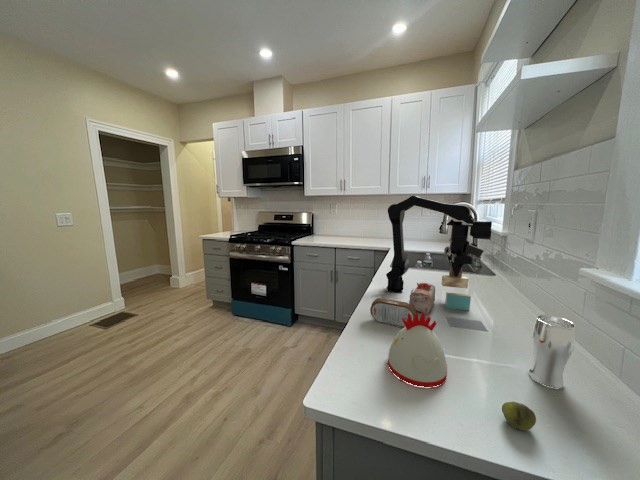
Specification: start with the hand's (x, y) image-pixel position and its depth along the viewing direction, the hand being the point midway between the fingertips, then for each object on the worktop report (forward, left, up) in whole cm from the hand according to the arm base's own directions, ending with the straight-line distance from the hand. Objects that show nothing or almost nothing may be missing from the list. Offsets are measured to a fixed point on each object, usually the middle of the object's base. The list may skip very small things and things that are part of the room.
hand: (455, 275), depth 100 cm
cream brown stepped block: (0, 0, -5) cm, 5 cm away
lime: (-1, -59, -12) cm, 60 cm away
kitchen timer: (-18, -47, -12) cm, 51 cm away
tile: (0, -7, -12) cm, 13 cm away
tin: (-24, -26, -12) cm, 37 cm away
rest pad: (0, -19, -11) cm, 22 cm away
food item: (-13, -9, -12) cm, 19 cm away
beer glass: (+11, -43, -12) cm, 45 cm away
